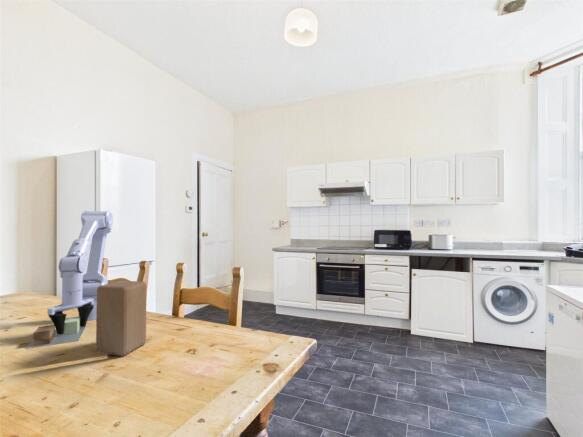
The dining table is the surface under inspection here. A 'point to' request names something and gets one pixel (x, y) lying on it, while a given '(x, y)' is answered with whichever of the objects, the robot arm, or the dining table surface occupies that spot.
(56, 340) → the baseplate
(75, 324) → the green brick
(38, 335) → the walnut brick
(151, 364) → the dining table surface
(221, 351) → the dining table surface
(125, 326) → the block
